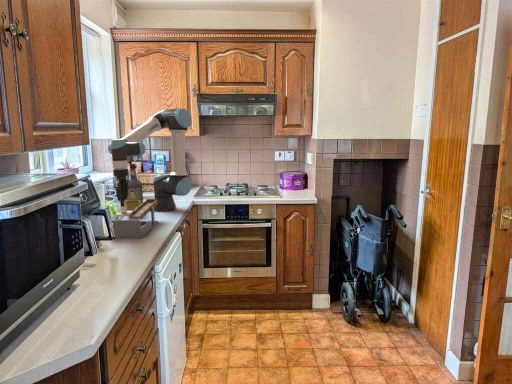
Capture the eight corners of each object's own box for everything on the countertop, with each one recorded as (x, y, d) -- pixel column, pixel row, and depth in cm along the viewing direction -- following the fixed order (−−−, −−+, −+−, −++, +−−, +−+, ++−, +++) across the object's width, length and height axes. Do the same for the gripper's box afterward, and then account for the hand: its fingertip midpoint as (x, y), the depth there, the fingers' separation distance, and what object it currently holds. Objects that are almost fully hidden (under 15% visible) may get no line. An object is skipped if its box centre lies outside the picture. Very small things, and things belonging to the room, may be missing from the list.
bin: (124, 229, 192) (123, 213, 191) (152, 229, 191) (151, 213, 190) (111, 238, 178) (109, 220, 176) (141, 238, 176) (139, 220, 175)
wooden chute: (132, 206, 213) (131, 198, 212) (158, 206, 212) (157, 198, 211) (114, 221, 190) (112, 212, 189) (143, 222, 189) (142, 213, 188)
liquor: (130, 207, 247) (127, 163, 242) (144, 206, 248) (141, 163, 243) (126, 210, 238) (123, 164, 233) (141, 209, 239) (137, 164, 234)
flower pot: (126, 215, 225) (124, 201, 223) (140, 213, 228) (139, 199, 226) (126, 218, 217) (125, 203, 215) (141, 216, 220) (140, 202, 218)
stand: (137, 222, 206) (136, 206, 204) (158, 222, 205) (157, 206, 203) (132, 226, 198) (130, 209, 197) (153, 226, 197) (152, 209, 196)
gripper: (119, 167, 197) (122, 209, 202) (107, 170, 185) (111, 214, 189) (132, 167, 197) (135, 209, 201) (121, 169, 184) (125, 214, 188)
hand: (123, 212), depth 195 cm, fingers closed
